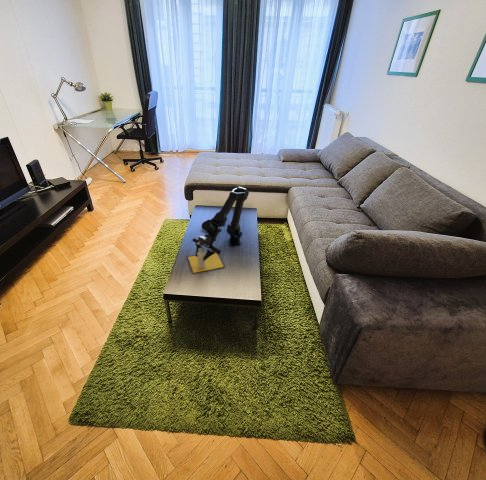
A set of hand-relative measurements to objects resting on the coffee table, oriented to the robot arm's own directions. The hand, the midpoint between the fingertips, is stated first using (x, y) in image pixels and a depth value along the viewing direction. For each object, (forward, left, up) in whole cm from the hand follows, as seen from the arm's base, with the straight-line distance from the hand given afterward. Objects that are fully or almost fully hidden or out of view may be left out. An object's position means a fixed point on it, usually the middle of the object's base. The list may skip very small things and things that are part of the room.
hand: (199, 258), depth 156 cm
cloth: (-4, -4, -7) cm, 9 cm away
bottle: (-1, -1, -7) cm, 7 cm away
